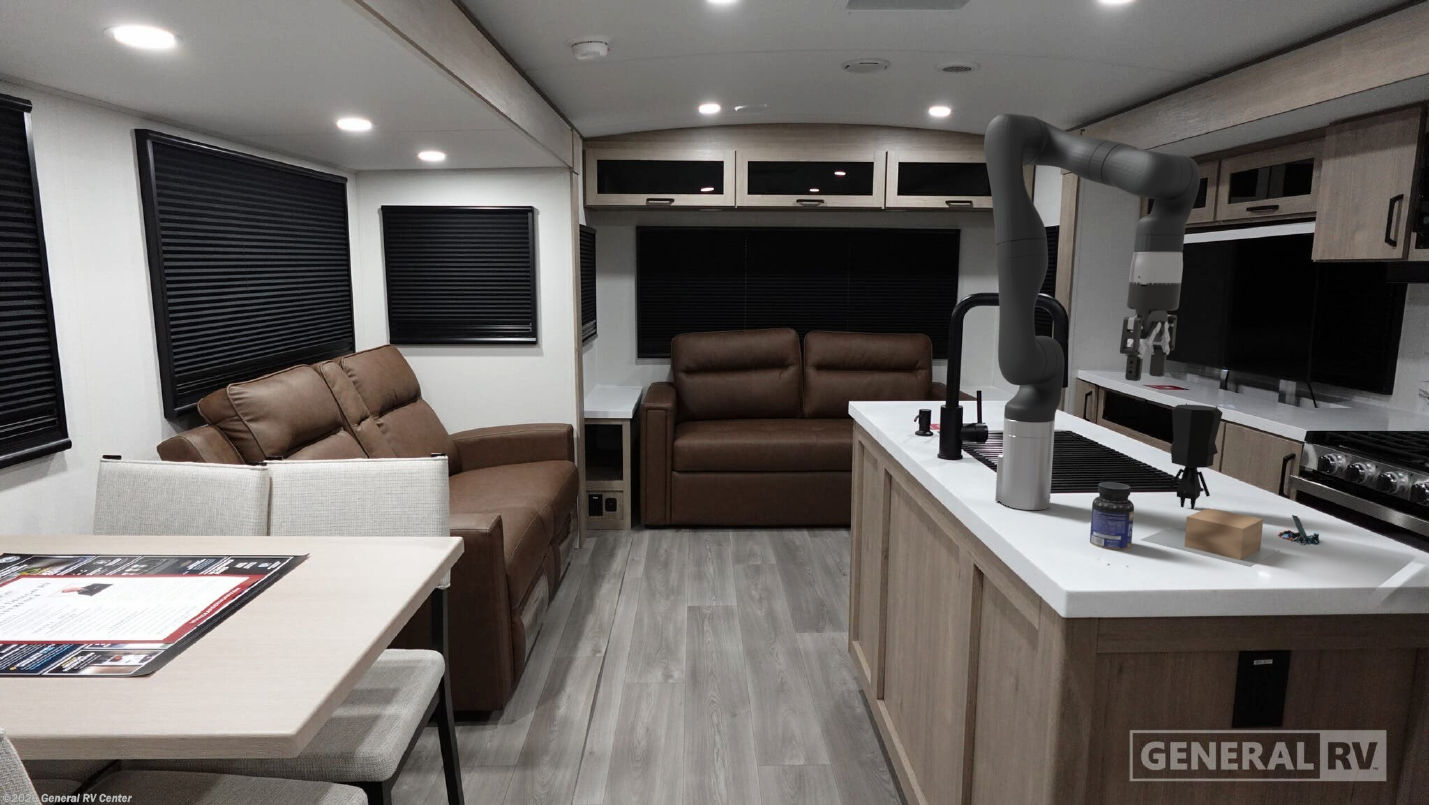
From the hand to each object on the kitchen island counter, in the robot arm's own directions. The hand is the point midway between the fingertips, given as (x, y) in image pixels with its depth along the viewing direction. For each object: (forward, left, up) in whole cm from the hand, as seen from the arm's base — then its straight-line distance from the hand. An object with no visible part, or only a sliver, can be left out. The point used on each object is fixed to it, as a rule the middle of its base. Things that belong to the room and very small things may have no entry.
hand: (1144, 378), depth 133 cm
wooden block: (+13, +2, -26) cm, 30 cm away
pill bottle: (+1, -10, -28) cm, 30 cm away
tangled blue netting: (+19, +17, -28) cm, 38 cm away
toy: (-2, +26, -28) cm, 38 cm away
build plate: (+11, +2, -28) cm, 30 cm away
